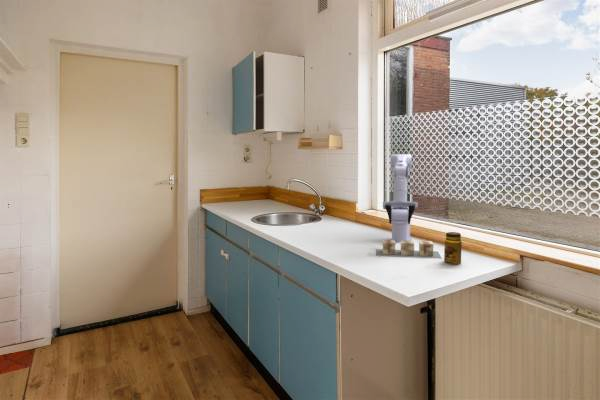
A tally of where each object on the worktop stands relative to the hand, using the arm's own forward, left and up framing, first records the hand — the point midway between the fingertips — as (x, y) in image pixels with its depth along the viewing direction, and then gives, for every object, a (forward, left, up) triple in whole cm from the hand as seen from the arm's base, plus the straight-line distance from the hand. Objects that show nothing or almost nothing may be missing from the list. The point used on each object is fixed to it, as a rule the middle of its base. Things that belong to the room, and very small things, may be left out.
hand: (399, 223), depth 164 cm
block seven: (-2, +11, -12) cm, 16 cm away
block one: (+5, -2, -12) cm, 13 cm away
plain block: (+1, +4, -12) cm, 13 cm away
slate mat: (+1, +4, -13) cm, 13 cm away
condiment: (+2, +23, -13) cm, 27 cm away
